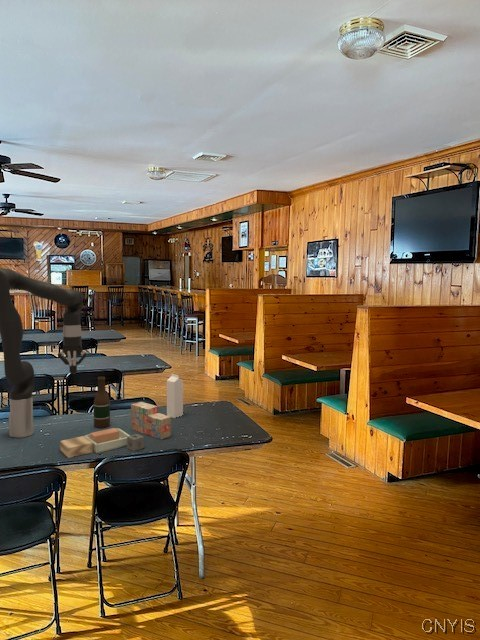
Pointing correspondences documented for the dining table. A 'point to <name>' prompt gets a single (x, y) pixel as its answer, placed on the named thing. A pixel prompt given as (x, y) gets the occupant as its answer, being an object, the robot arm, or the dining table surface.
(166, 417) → the stack of blocks
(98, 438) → the terracotta block
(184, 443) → the dining table surface
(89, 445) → the cream wooden slab
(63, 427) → the dining table surface
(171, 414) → the milk
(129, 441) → the dice cube
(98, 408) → the beer bottle
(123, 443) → the tray
